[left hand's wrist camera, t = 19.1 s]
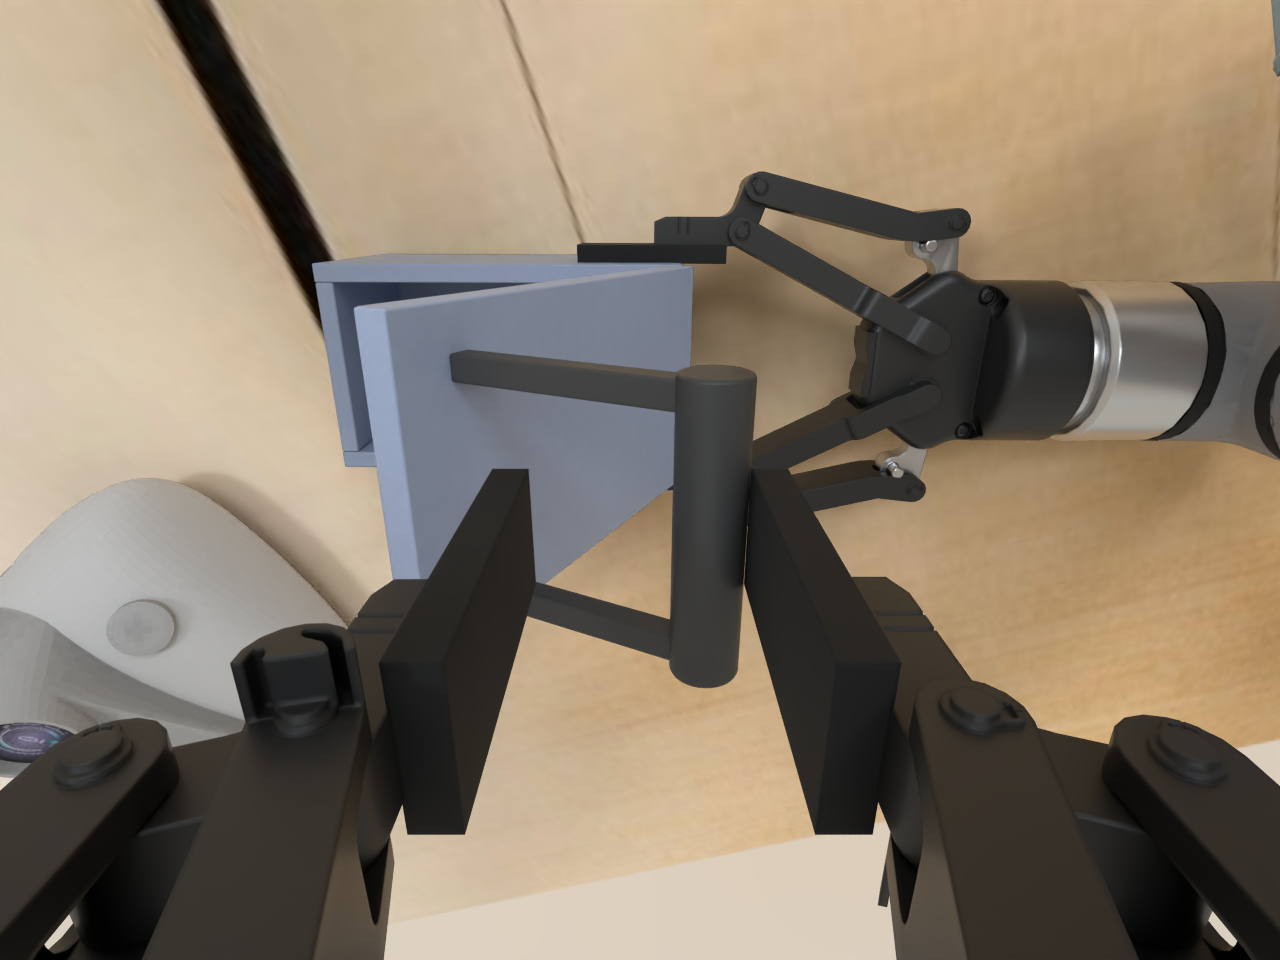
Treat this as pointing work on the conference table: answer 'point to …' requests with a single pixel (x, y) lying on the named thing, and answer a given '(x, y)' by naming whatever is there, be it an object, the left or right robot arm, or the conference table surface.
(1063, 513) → the conference table surface
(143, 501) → the projector
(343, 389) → the chest
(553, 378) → the lid
